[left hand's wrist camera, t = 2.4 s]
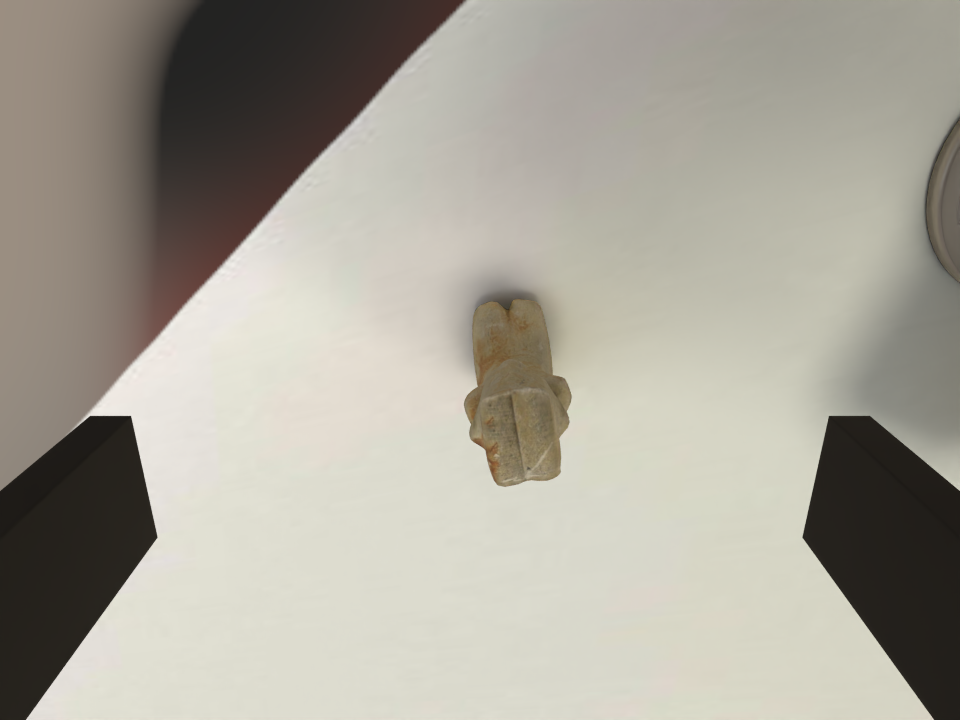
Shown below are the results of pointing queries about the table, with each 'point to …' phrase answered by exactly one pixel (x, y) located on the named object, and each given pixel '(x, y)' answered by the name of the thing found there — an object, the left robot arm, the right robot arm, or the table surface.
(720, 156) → the table surface
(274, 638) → the table surface
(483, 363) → the sculpture
